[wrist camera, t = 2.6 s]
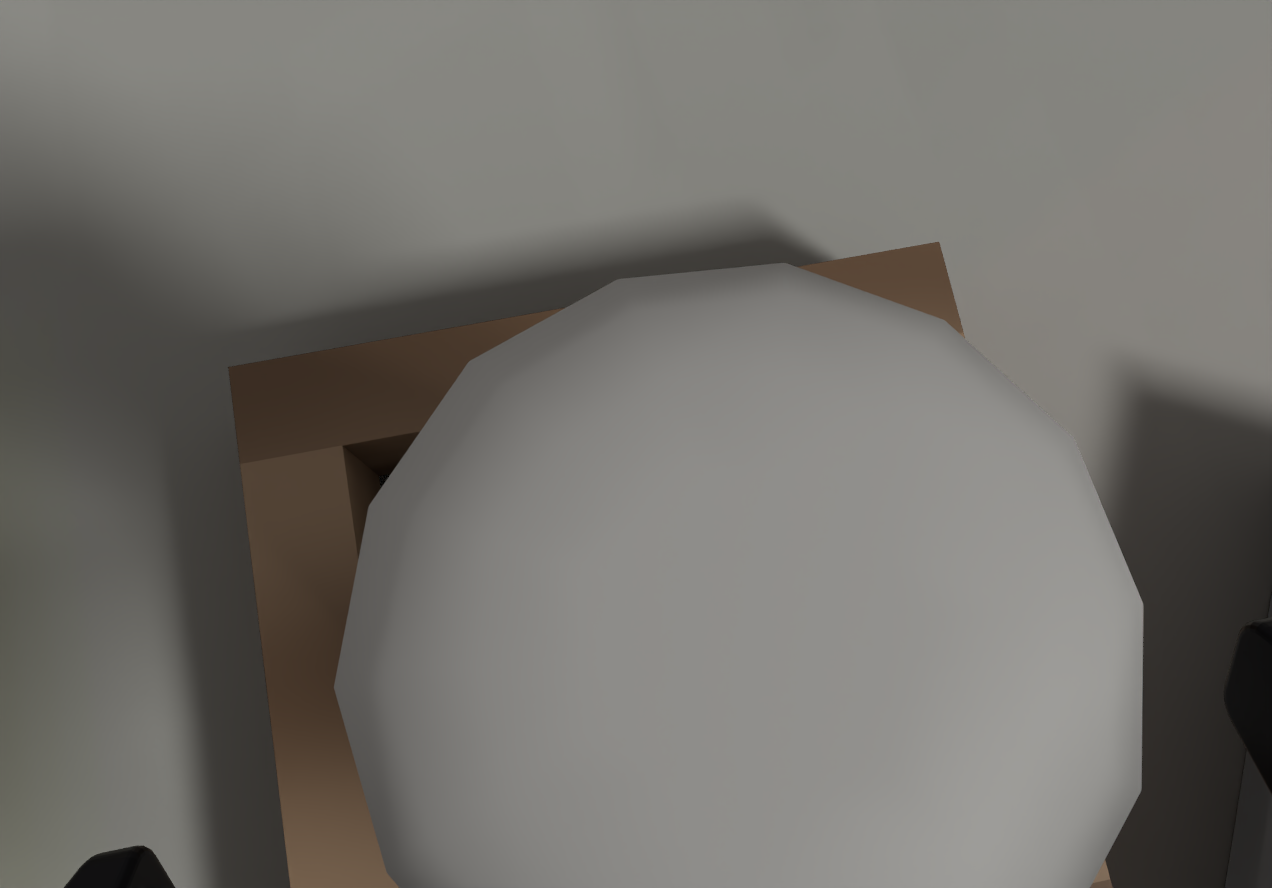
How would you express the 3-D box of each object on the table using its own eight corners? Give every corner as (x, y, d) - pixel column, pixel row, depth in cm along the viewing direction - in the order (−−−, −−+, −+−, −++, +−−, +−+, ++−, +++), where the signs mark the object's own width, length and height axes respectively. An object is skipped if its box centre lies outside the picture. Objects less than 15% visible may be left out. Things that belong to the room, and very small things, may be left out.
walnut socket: (1064, 948, 17) (1140, 994, 14) (368, 1101, 16) (325, 1177, 14) (896, 297, 19) (939, 242, 16) (280, 408, 18) (228, 366, 16)
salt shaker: (901, 672, 18) (1657, 668, 5) (655, 932, 17) (795, 1771, 4) (653, 424, 18) (748, -133, 6) (405, 660, 17) (-147, 627, 5)
